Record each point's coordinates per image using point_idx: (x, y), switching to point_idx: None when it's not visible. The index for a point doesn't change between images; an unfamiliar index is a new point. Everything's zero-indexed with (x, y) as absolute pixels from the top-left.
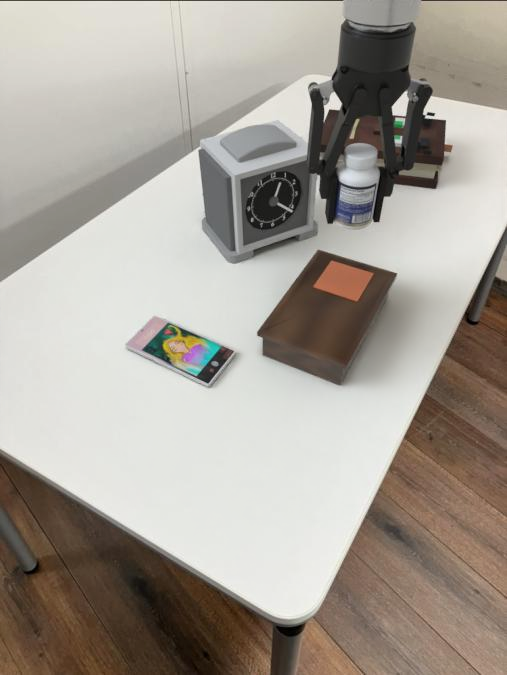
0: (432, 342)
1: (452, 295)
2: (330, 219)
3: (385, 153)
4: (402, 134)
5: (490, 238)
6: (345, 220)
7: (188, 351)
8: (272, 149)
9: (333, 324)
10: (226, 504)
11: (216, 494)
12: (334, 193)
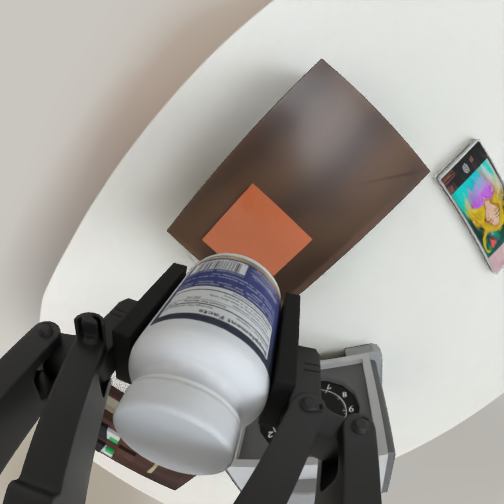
0: (165, 121)
1: (111, 200)
2: (293, 300)
3: (87, 396)
4: (106, 439)
5: (53, 280)
6: (262, 277)
7: (485, 201)
8: (300, 485)
9: (311, 144)
10: (469, 6)
11: (477, 18)
12: (285, 347)
